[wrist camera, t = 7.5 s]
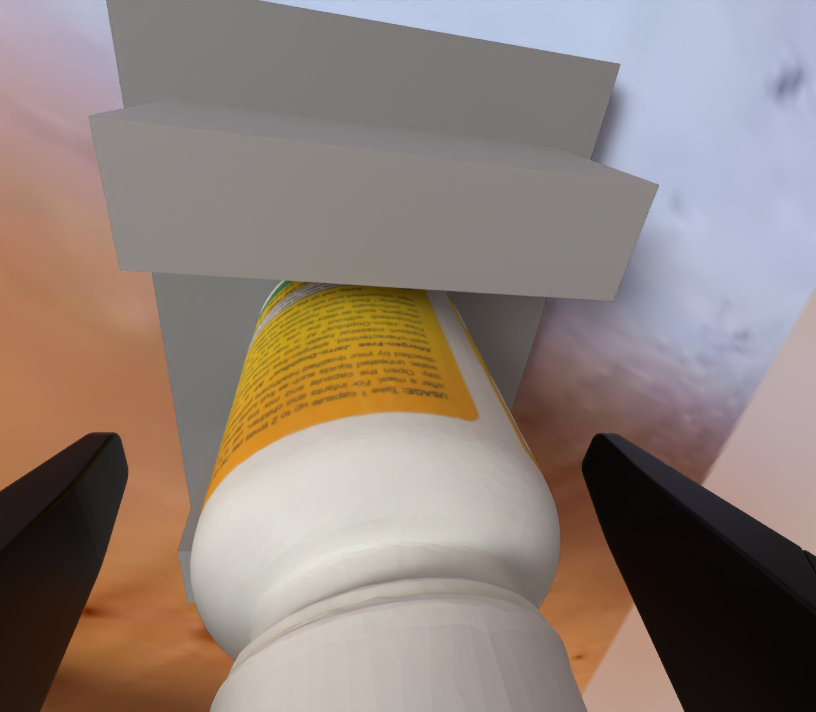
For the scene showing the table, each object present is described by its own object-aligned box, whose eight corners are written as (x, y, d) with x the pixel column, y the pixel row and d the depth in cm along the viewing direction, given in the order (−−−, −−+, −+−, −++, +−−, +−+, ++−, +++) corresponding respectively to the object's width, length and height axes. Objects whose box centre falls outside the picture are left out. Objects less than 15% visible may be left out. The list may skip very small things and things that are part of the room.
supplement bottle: (494, 322, 13) (776, 754, 5) (373, 442, 14) (429, 909, 6) (339, 194, 10) (378, 635, 2) (215, 356, 12) (-10, 934, 4)
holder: (473, 486, 18) (519, 615, 14) (199, 493, 16) (154, 645, 12) (597, 64, 11) (772, 63, 6) (123, -19, 9) (-66, -97, 5)
